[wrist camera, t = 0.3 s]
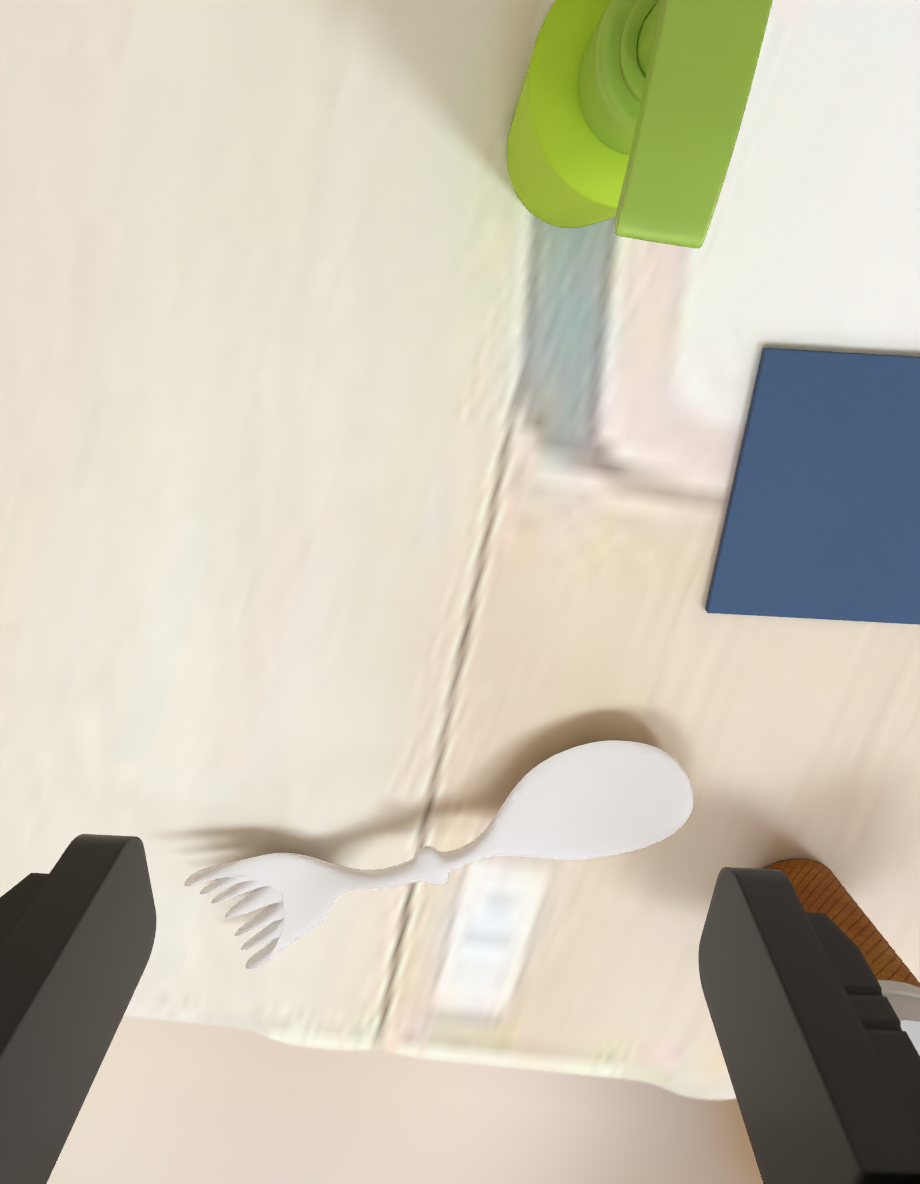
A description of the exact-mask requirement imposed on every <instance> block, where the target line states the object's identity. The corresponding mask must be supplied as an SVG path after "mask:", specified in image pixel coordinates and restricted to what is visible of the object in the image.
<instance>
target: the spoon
mask: <svg viewBox="0 0 920 1184" xmlns="http://www.w3.org/2000/svg"><path fill="white" fill-rule="evenodd" d="M693 804H694V796H693V790H692V786H691V782H690V780H689V777H688V775H687V773H686V771H685V770H684V768H683V767H682V765H681V764H680V763H679V762H678V761H677V760H676V759H675V758H674V757H673V756H671V755H670V754H668V753H667V752H665V751H663V750H661V749H659V748H657V747H654V746H651V745H647V744H643V743H639V742H632V741H618V740H611V741H599V742H592V743H588V744H583V745H580V746H576V747H573V748H570V749H568V750H565V751H563V752H560V753H558V754H556V755H554V756H552V757H550V758H548V759H546V760H545V761H543V762H542V763H540V764H538V765H537V766H536V767H534V768H533V769H532V770H531V771H530V772H528V773H527V774H526V775H525V776H524V777H523V778H522V779H521V781H520V782H519V783H518V784H517V785H516V786H515V788H514V789H513V790H512V792H511V793H510V794H509V796H508V797H507V799H506V800H505V802H504V803H503V805H502V806H501V808H500V809H499V811H498V812H497V814H496V815H495V817H494V819H493V820H492V822H491V823H490V824H489V826H488V827H487V828H486V829H485V831H484V832H483V833H482V834H481V835H480V836H479V837H478V838H476V839H475V840H474V841H472V842H470V843H469V844H467V845H465V846H463V847H461V848H459V849H456V850H453V851H448V852H440V851H438V850H436V849H434V848H433V847H430V846H426V847H422V848H420V849H418V850H417V851H416V854H415V857H414V858H413V859H411V860H410V861H408V862H405V863H402V864H400V865H396V866H393V867H389V868H385V869H378V870H361V869H354V868H349V867H344V866H341V865H337V864H333V863H330V862H327V861H323V860H320V859H317V858H313V857H310V856H306V855H301V854H295V853H271V854H265V855H261V856H256V857H252V858H247V859H243V860H238V861H233V862H229V863H224V864H220V865H216V866H212V867H208V868H205V869H202V870H200V871H198V872H196V873H194V874H192V875H191V876H190V877H189V878H188V879H187V880H186V881H185V886H191V885H195V884H199V883H202V882H205V881H209V880H213V879H217V880H215V881H214V882H212V883H211V884H209V885H208V886H206V887H205V888H203V889H202V890H201V892H200V894H205V893H210V892H213V891H216V890H219V889H222V888H225V887H227V886H230V885H234V884H235V885H234V886H232V887H230V888H229V889H227V890H225V891H224V892H222V893H221V894H219V895H218V896H217V897H215V898H214V899H213V900H212V902H211V903H212V904H213V903H218V902H222V901H225V900H227V899H230V898H232V897H235V896H237V895H240V894H243V893H245V892H248V891H251V890H254V889H257V888H259V889H257V890H256V891H254V892H253V893H251V894H250V895H248V896H247V897H246V898H244V899H243V900H241V901H240V902H239V903H237V904H236V905H235V906H233V907H232V908H231V909H230V910H229V911H228V912H227V913H226V916H225V917H226V918H233V917H237V916H240V915H243V914H246V913H249V912H251V911H254V910H256V909H259V908H262V907H265V906H267V905H270V904H273V903H274V904H273V905H271V906H270V907H269V908H267V909H266V910H265V911H263V912H262V913H260V914H259V915H257V916H256V917H255V918H253V919H252V920H250V921H249V922H247V923H246V924H245V925H243V926H242V927H241V928H240V929H239V930H238V931H237V932H236V933H235V934H234V935H235V936H239V935H243V934H245V933H248V932H251V931H253V930H255V929H258V928H260V927H262V926H265V925H267V924H270V923H271V924H270V925H269V926H267V927H266V928H265V929H263V930H262V931H260V932H259V933H258V934H256V935H255V936H253V937H252V938H251V939H249V940H248V941H247V942H246V943H245V944H244V945H243V946H242V947H241V950H247V949H250V948H253V947H256V946H259V945H261V944H264V943H266V942H269V941H271V940H273V941H271V942H270V943H269V944H268V945H266V946H265V947H264V948H263V949H261V950H260V951H258V952H257V953H256V954H254V955H253V956H252V957H251V958H250V959H249V960H248V961H247V963H246V964H245V967H246V968H248V969H252V968H255V967H258V966H259V965H261V964H263V963H265V962H267V961H268V960H269V959H270V958H272V957H274V956H275V955H277V954H278V953H279V952H281V951H282V950H283V949H285V948H286V947H287V946H288V945H290V944H291V943H293V942H294V941H295V940H297V939H298V938H300V937H301V936H303V935H304V934H306V933H307V932H308V931H310V930H311V929H313V928H314V927H315V926H317V925H318V924H319V923H320V922H321V921H322V920H323V919H324V918H325V917H326V915H327V914H328V913H329V911H330V910H331V908H332V906H333V905H334V903H335V901H336V900H337V899H338V897H339V896H340V895H341V894H342V893H345V892H347V891H351V890H380V889H386V888H392V887H396V886H400V885H404V884H409V883H413V882H422V881H424V882H428V883H431V884H433V885H440V884H443V883H445V882H447V880H448V878H449V872H450V871H451V870H453V869H455V868H458V867H460V866H463V865H466V864H469V863H471V862H474V861H477V860H480V859H483V858H487V857H492V856H523V857H538V858H548V859H559V860H580V859H590V858H597V857H604V856H610V855H616V854H622V853H627V852H631V851H635V850H639V849H642V848H645V847H648V846H651V845H653V844H655V843H657V842H659V841H661V840H663V839H665V838H667V837H669V836H670V835H672V834H673V833H675V832H676V831H677V830H679V829H680V828H681V827H682V826H683V825H684V824H685V822H686V821H687V819H688V818H689V816H690V814H691V812H692V809H693ZM218 878H219V879H218Z"/></svg>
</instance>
